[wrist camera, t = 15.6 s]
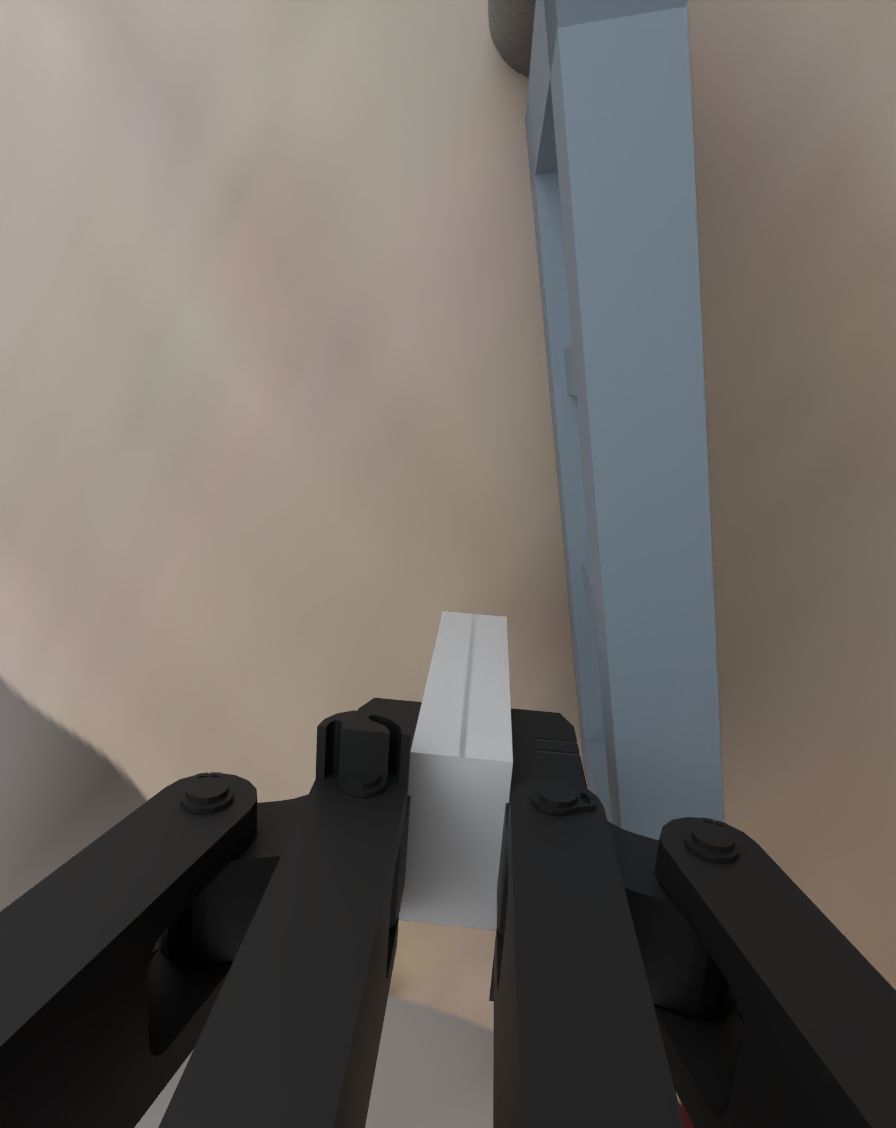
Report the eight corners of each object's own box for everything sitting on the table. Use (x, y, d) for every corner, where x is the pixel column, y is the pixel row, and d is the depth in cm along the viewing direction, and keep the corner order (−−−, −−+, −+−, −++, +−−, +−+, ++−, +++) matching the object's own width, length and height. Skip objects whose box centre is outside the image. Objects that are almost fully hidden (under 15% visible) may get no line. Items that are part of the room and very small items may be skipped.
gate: (594, 109, 18) (680, -147, 9) (640, 760, 21) (733, 1014, 13) (525, 120, 18) (546, -121, 9) (583, 764, 21) (636, 1018, 13)
